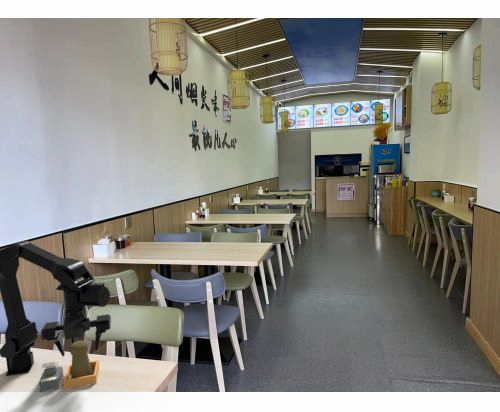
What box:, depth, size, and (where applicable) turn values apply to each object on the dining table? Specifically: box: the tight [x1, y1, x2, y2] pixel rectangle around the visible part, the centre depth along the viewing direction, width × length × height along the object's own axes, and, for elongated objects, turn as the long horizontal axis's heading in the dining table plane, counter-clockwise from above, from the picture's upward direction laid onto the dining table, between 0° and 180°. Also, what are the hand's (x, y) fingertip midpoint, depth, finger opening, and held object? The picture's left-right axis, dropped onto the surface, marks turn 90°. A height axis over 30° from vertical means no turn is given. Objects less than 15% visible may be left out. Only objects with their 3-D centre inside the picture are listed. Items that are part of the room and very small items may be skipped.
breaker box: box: [38, 366, 64, 393], centre depth 114 cm, size 5×7×5 cm
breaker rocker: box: [41, 361, 59, 369], centre depth 114 cm, size 3×6×1 cm, turn 16°
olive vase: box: [69, 340, 93, 379], centre depth 116 cm, size 6×6×11 cm
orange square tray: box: [63, 360, 100, 390], centre depth 117 cm, size 9×9×2 cm
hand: (80, 353), depth 116 cm, fingers open, 9 cm apart
